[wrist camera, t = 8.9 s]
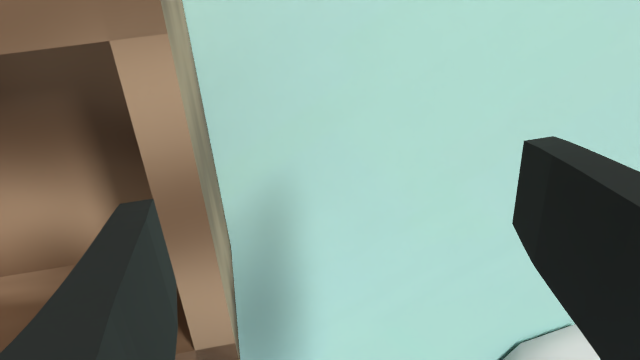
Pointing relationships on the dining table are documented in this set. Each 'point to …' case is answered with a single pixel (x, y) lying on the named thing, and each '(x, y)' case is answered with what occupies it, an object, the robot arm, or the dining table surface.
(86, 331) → the robot arm
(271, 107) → the dining table surface
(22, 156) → the cabinet
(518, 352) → the flask
